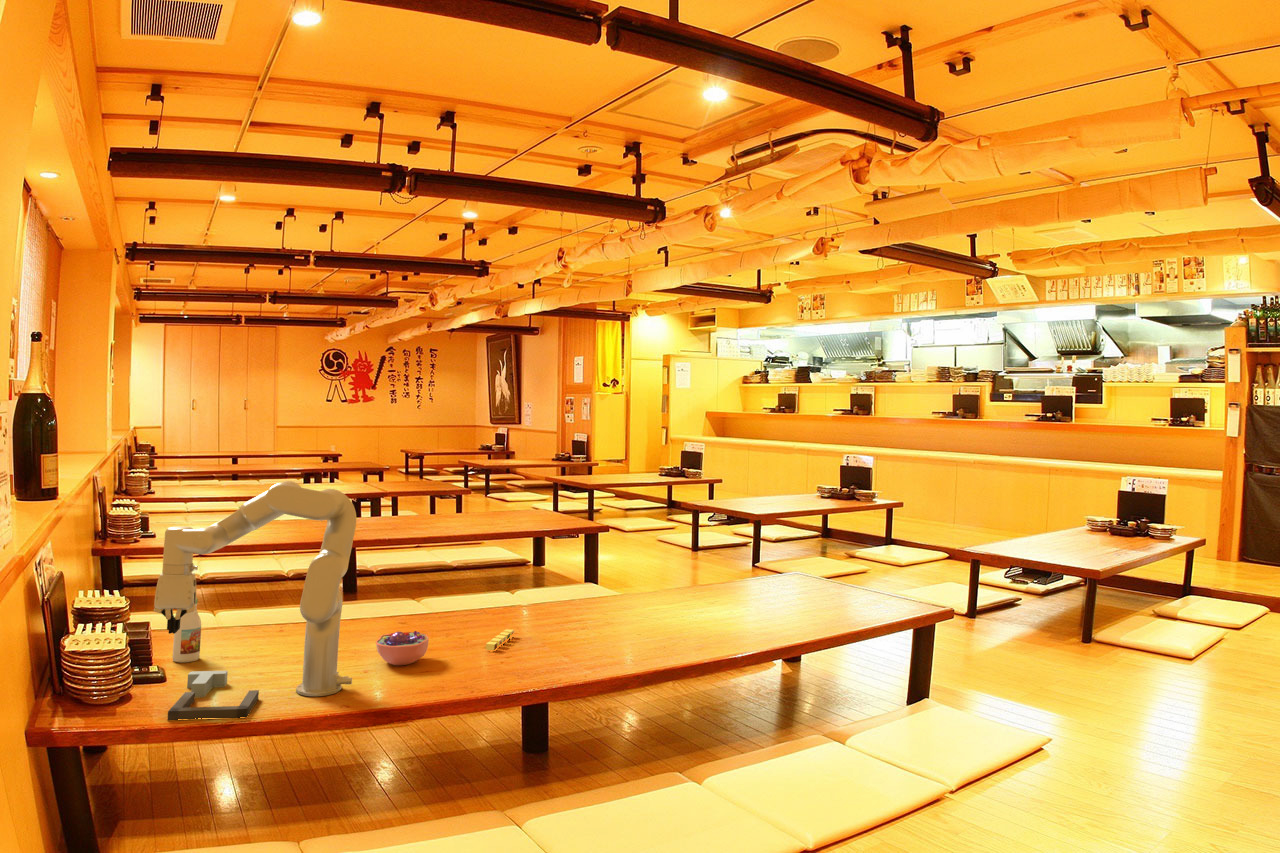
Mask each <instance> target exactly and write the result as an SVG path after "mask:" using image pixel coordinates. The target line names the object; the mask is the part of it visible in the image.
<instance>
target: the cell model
mask: <svg viewBox="0 0 1280 853" xmlns="http://www.w3.org/2000/svg"><path fill="white" fill-rule="evenodd" d="M429 639H430V638H429V636H428V635H427V634H426V633H421V632H419V631H416V630H415V631H413V632H412V631H411V632H410V631H409V632H403V631H395V632H391V633H386V634H382V635H380V636H379V638H378V639H377V640H376V641H375V644H376V650H377V651H376V652H377V653H378V655H379V656H380V657H381V658H382V659H383V661H385V662H387V663H388V664H390V665H392V666H406V665H410V664H413V663H415V662H417V661H418V660H420V659H421V658H423V657H424V656H425V654H426V653H427V651H428V647H429Z"/></svg>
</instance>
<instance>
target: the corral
mask: <svg viewBox="0 0 1280 853" xmlns="http://www.w3.org/2000/svg"><path fill="white" fill-rule="evenodd" d="M259 692H260V691H259V689H257V690H255V689H254V690H251V689H250V690H248V692H247V693H246V695H245V696H244V698H243V699H242V700H241V702H240V704H239V705H234V706H233V705H232V706H230V705H229V706H199V707H198V706H195V707H193V706H192V705H193V703H194V702H195V700H196V699H195V692H191V691H186V692H184V693H183V694H182V695H181V697H179V699H178V700H176V702H174V704H173V705H172V707H170V708H169V709H168V711H167V720H178V719H195V718H196V719H198V718H201V719H202V718H238V719H241V718H240V717H247V716H249V715H250V714H251V712H252V710H253V709H254V707H255V705H256V704H257V701H258V700H259V694H260V693H259ZM255 703H256V704H255ZM191 704H192V705H191ZM191 706H192V707H191ZM253 706H254V707H253ZM250 711H251V712H250ZM248 714H249V715H248ZM247 718H248V717H247Z"/></svg>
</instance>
